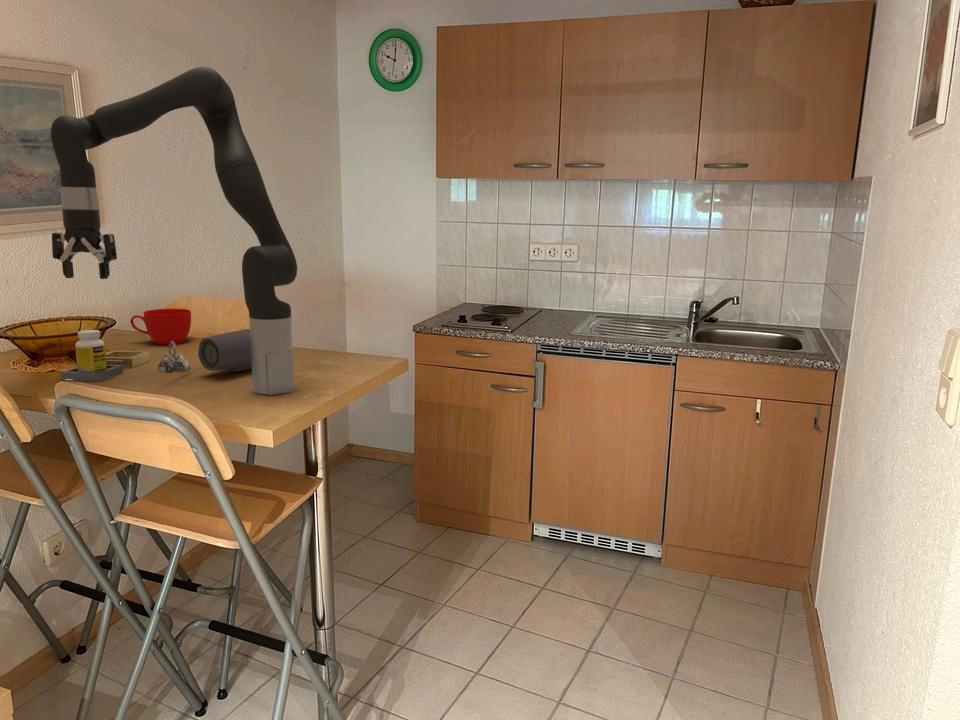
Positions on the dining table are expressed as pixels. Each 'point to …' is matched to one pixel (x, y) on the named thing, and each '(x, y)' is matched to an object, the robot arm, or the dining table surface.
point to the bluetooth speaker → (226, 351)
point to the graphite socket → (92, 374)
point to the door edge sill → (115, 362)
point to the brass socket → (129, 357)
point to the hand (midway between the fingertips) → (86, 278)
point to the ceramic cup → (166, 325)
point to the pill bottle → (90, 352)
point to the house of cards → (170, 363)
